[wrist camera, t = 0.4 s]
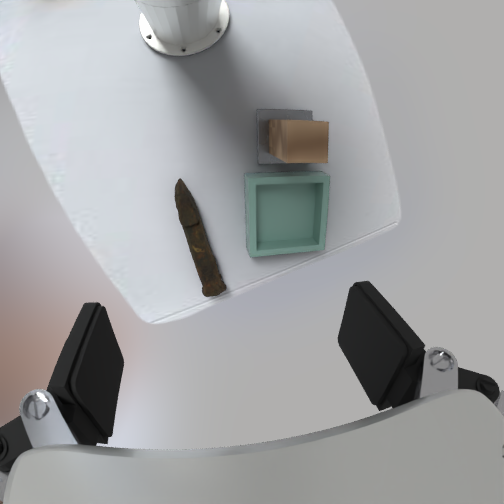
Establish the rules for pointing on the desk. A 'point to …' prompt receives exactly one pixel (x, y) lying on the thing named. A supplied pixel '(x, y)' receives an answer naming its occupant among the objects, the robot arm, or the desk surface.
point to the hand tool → (198, 242)
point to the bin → (286, 212)
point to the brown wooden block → (299, 140)
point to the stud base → (263, 130)
